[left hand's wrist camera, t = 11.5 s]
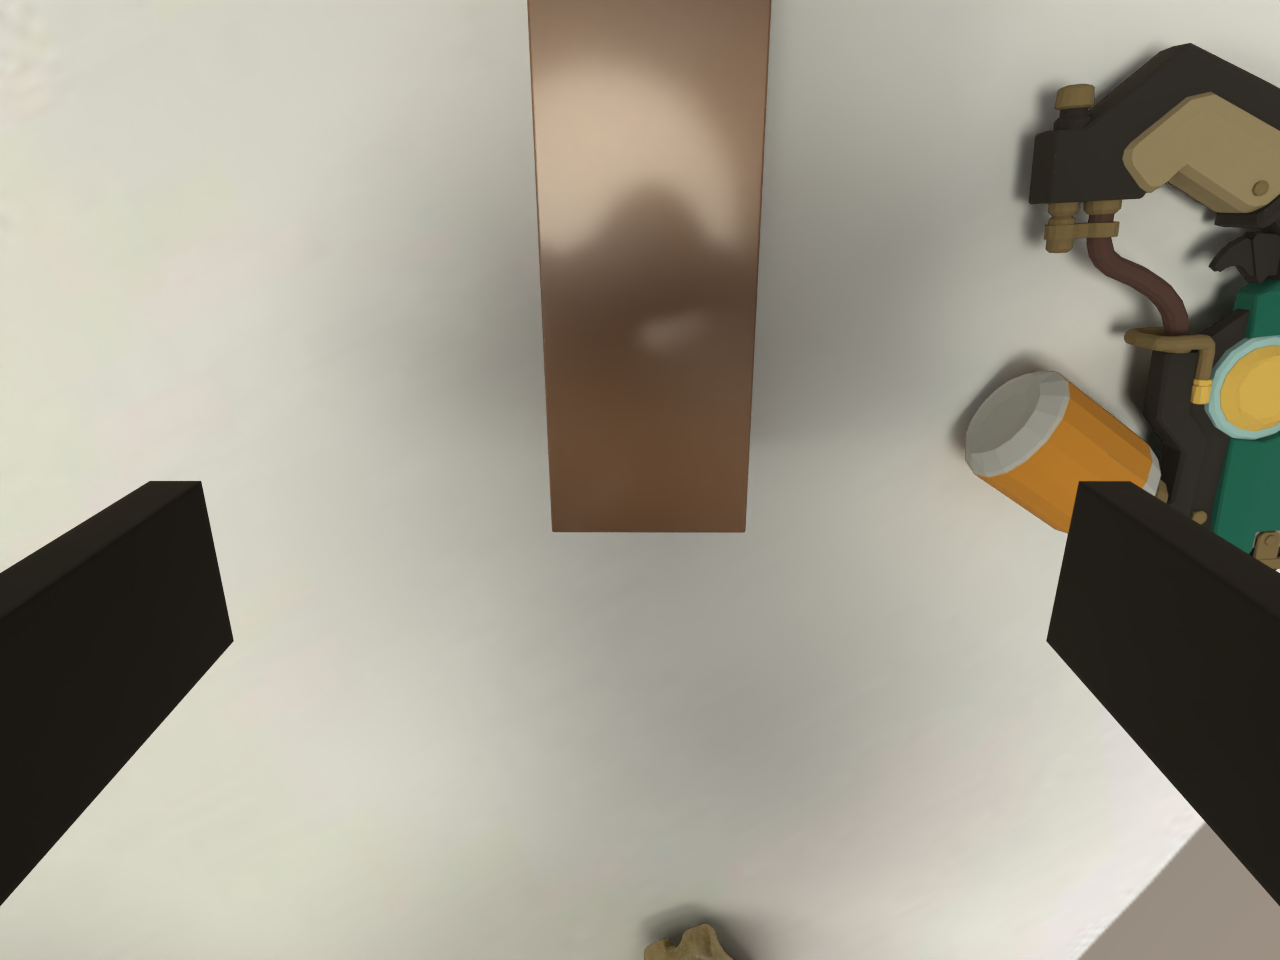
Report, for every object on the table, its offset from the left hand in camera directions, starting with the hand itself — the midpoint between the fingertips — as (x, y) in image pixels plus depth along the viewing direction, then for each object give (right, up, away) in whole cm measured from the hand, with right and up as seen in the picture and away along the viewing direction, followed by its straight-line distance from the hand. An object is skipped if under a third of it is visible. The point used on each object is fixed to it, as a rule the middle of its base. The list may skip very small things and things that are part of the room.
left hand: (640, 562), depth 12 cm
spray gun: (+19, +7, +16) cm, 26 cm away
